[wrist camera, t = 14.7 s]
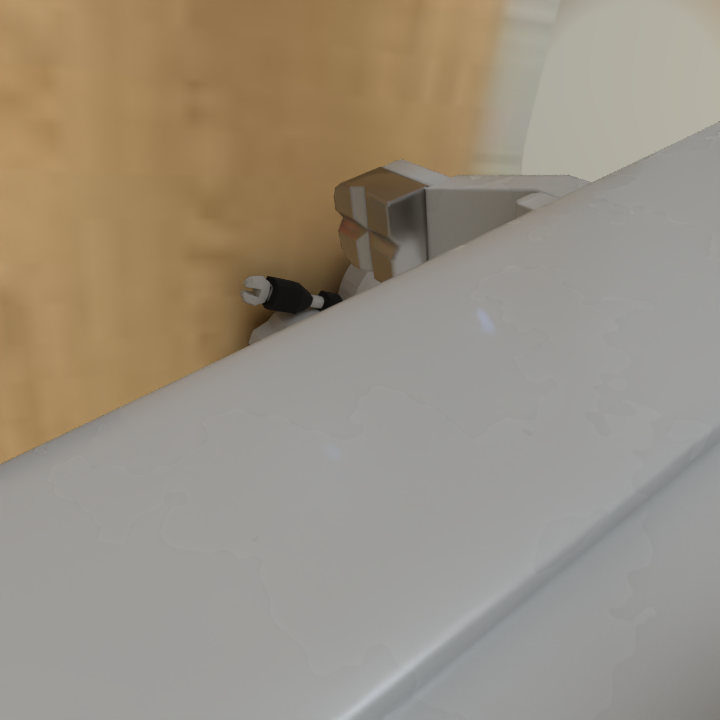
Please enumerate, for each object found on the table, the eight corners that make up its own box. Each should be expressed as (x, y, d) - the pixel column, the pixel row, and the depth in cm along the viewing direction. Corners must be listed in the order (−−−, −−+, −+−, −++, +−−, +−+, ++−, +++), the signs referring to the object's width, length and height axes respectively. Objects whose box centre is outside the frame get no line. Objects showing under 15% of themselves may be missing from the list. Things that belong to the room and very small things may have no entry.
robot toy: (239, 419, 44) (415, 357, 51) (266, 457, 41) (451, 385, 48) (217, 255, 38) (423, 208, 44) (247, 283, 34) (465, 228, 41)
